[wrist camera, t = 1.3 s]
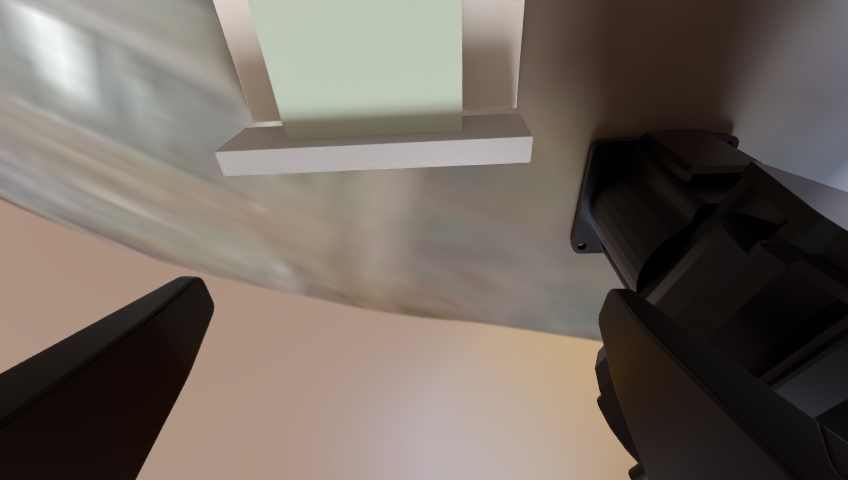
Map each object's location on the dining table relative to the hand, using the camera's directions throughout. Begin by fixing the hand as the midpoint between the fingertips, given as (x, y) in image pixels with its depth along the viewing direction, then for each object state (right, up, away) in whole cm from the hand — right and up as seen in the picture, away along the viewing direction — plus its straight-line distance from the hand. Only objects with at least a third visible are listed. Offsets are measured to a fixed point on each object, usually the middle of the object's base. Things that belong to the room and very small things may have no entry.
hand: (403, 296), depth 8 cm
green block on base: (-2, +10, +6) cm, 12 cm away
